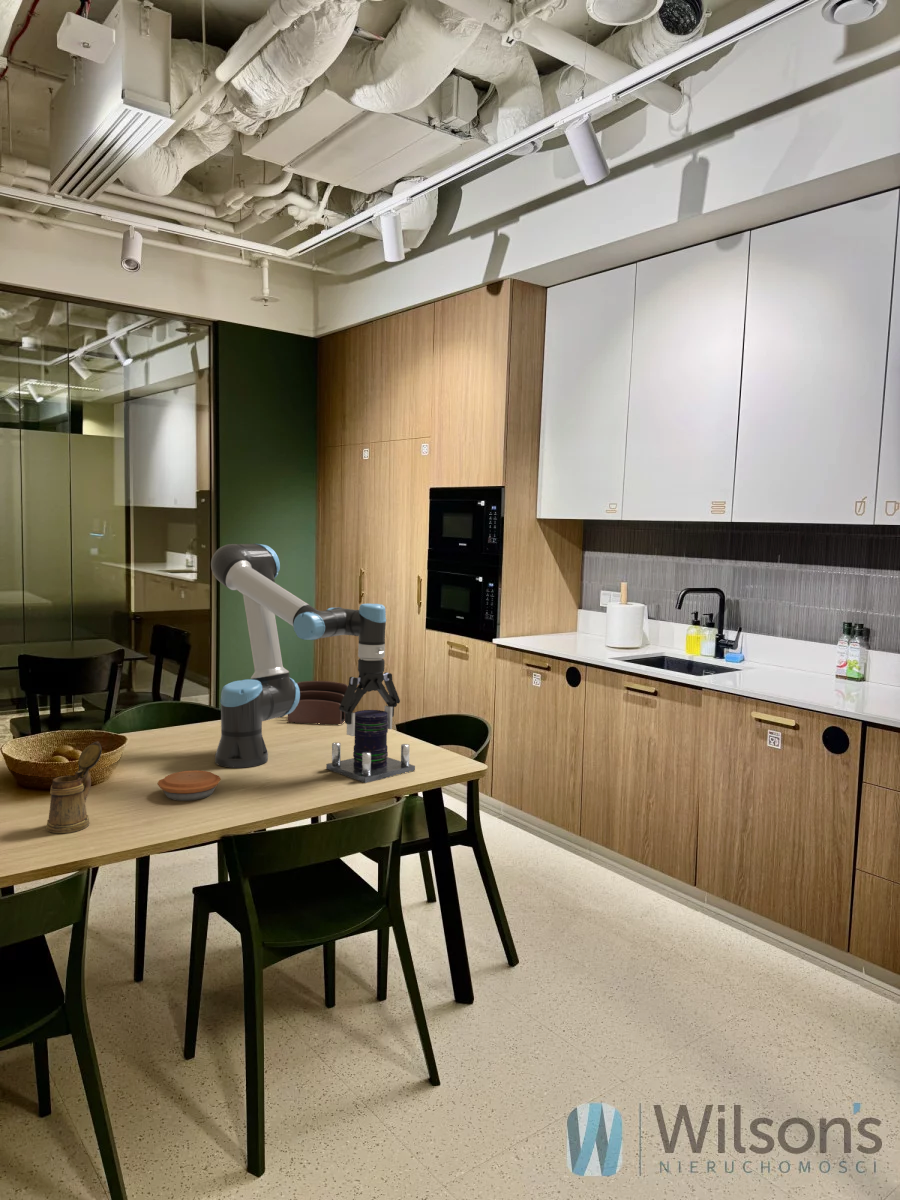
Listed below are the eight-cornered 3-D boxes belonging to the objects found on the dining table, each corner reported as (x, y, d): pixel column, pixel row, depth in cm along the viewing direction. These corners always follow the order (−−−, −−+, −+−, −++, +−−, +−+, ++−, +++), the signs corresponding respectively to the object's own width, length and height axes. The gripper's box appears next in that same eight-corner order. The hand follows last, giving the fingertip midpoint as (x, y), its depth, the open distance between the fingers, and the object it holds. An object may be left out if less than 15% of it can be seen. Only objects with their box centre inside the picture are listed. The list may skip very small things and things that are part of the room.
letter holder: (296, 717, 312) (296, 679, 311) (348, 719, 309) (349, 681, 308) (287, 723, 302) (287, 684, 301) (341, 725, 299) (341, 686, 298)
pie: (233, 790, 223) (233, 771, 223) (193, 807, 209) (193, 787, 209) (186, 782, 229) (186, 764, 229) (144, 798, 215) (144, 779, 215)
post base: (365, 782, 231) (365, 755, 230) (326, 769, 244) (326, 743, 243) (414, 770, 243) (415, 745, 243) (375, 758, 256) (375, 733, 256)
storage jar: (348, 762, 246) (348, 711, 245) (380, 758, 250) (381, 708, 249) (359, 771, 237) (360, 718, 236) (392, 767, 241) (393, 715, 240)
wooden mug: (113, 818, 200) (112, 743, 198) (64, 836, 188) (62, 756, 186) (87, 812, 204) (86, 738, 202) (37, 829, 192) (35, 751, 190)
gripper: (343, 664, 230) (342, 741, 232) (413, 656, 247) (411, 728, 249) (327, 660, 235) (326, 735, 237) (396, 653, 252) (394, 723, 254)
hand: (369, 731), depth 243 cm, fingers open, 13 cm apart
